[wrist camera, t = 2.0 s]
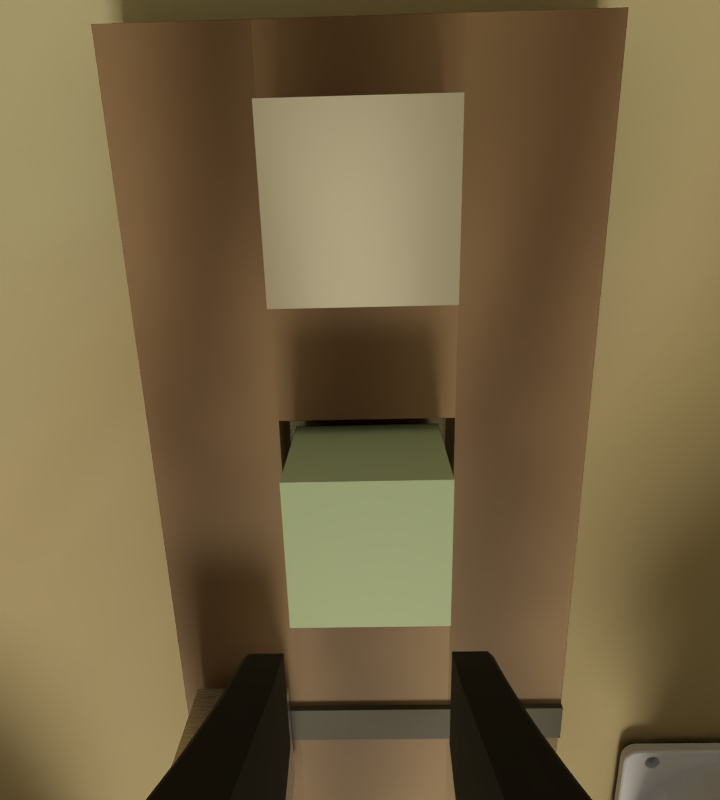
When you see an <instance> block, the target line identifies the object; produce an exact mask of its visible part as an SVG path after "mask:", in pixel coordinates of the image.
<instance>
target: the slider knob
mask: <svg viewBox="0 0 720 800" xmlns="http://www.w3.org/2000/svg"><path fill="white" fill-rule="evenodd" d="M224 690H225V689H198V691H197V693H196V696H195V699H194V702H193V705H192V708H191V711H190V714H189V717H188V720H187V723H186V726H185V729H184V732H183V735H182V737H181V740H180V743H179V746H178V749H177V752H176V755H175V758H174V761H173V764H174V763H175V761H176V760H177V759H178V757H179V756H180V755H181V753H182V752H183V750H184V749H185V748H186V746H187V745H188V743H189V742H190V740H191V739H192V738H193V736H194V735H195V733H196V732H197V730H198V729H199V728H200V726H201V725H202V723H203V722H204V720H205V719H206V717H207V716H208V714H209V713H210V711H211V710H212V708H213V707H214V705H215V704H216V702H217V701H218V699H219V698H220V696H221V694H222V693H223V691H224ZM286 692H287V705H288V718H289V731H290V744H291V747H290V758H289V769H288V780H287V790H286V800H292V796H293V788H294V780H295V770H294V756H293V743H292V730H291V717H290V704H289V690H288V688H286ZM173 764H172V766H173Z"/></svg>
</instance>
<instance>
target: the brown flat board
mask: <svg viewBox="0 0 720 800" xmlns="http://www.w3.org/2000/svg"><path fill="white" fill-rule="evenodd" d="M627 18H628V7H624V8H592V9H560V10H528V11H496V12H464V13H432V14H400V15H368V16H336V17H304V18H272V19H240V20H208V21H176V22H144V23H112V24H91V26H92V34H93V41H94V48H95V55H96V62H97V69H98V76H99V83H100V90H101V97H102V104H103V111H104V119H105V126H106V133H107V140H108V147H109V154H110V161H111V168H112V175H113V182H114V189H115V196H116V204H117V211H118V218H119V225H120V232H121V239H122V246H123V253H124V260H125V267H126V274H127V282H128V289H129V296H130V303H131V310H132V317H133V324H134V331H135V338H136V345H137V352H138V359H139V367H140V374H141V381H142V388H143V395H144V402H145V409H146V416H147V423H148V430H149V437H150V444H151V452H152V459H153V466H154V473H155V480H156V487H157V494H158V501H159V508H160V515H161V522H162V530H163V537H164V544H165V551H166V558H167V565H168V572H169V579H170V586H171V593H172V600H173V607H174V615H175V622H176V629H177V636H178V643H179V650H180V657H181V664H182V671H183V678H184V685H185V692H186V700H187V707H188V714H190V711H191V708H192V705H193V702H194V699H195V696H196V693H197V691H198V689H225V688H226V686H227V685H228V683H229V681H230V680H231V678H232V676H233V675H234V673H235V671H236V670H237V668H238V666H239V664H240V663H241V661H242V659H243V658H244V657H246V656H247V655H248V654H278V653H284V666H285V679H286V688H288V690H289V704H290V717H291V730H292V743H293V756H294V770H295V780H294V788H293V796H292V800H456V799H455V790H454V782H453V773H452V763H451V754H450V745H449V743H450V706H451V669H452V651H488V652H489V653H490V654H491V655H492V656H494V658H495V660H496V662H497V664H498V665H499V667H500V669H501V671H502V672H503V674H504V676H505V677H506V679H507V681H508V682H509V684H510V686H511V687H512V689H513V691H514V692H515V694H516V695H517V697H518V698H519V700H520V702H521V703H522V705H523V706H524V708H525V709H526V711H527V712H528V714H529V715H530V717H531V718H532V720H533V721H534V723H535V724H536V726H537V727H538V728H539V730H540V731H541V733H542V734H543V735H544V737H545V738H546V740H547V741H548V742H549V744H550V745H551V747H552V748H553V749H554V751H555V752H556V748H557V738H560V730H561V720H562V710H563V708H562V705H561V696H562V686H563V676H564V666H565V655H566V645H567V635H568V624H569V614H570V604H571V594H572V583H573V573H574V563H575V552H576V542H577V532H578V522H579V511H580V501H581V491H582V481H583V470H584V460H585V450H586V439H587V429H588V419H589V409H590V398H591V388H592V378H593V367H594V357H595V347H596V337H597V326H598V316H599V306H600V295H601V285H602V275H603V265H604V254H605V244H606V234H607V223H608V213H609V203H610V193H611V182H612V172H613V162H614V151H615V141H616V131H617V121H618V110H619V100H620V90H621V79H622V69H623V59H624V49H625V38H626V28H627ZM457 92H464V130H463V169H462V208H461V247H460V285H459V305H434V306H388V307H343V308H298V309H267V303H266V289H265V275H264V261H263V247H262V233H261V219H260V205H259V192H258V178H257V164H256V150H255V136H254V122H253V108H252V98H283V97H318V96H353V95H387V94H422V93H457ZM408 418H446V441H445V450H446V453H447V456H448V460H449V463H450V466H451V470H452V473H453V476H454V518H453V557H452V596H451V626H416V627H334V628H290V622H289V608H288V594H287V580H286V566H285V552H284V539H283V525H282V511H281V497H280V479H281V476H282V473H283V469H284V466H285V463H286V460H287V456H288V453H289V450H290V446H291V443H290V427H289V421H301V420H355V419H408Z"/></svg>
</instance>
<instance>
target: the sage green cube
mask: <svg viewBox="0 0 720 800" xmlns="http://www.w3.org/2000/svg"><path fill="white" fill-rule="evenodd" d="M280 497H281V511H282V525H283V539H284V552H285V566H286V580H287V594H288V608H289V622H290V628H334V627H416V626H451V596H452V557H453V518H454V476H453V473H452V470H451V466H450V463H449V460H448V456H447V453H446V450H445V446H444V443H443V440H442V436H441V433H440V429H439V426H438V424H404V425H350V426H297V427H296V430H295V433H294V436H293V440H292V443H291V446H290V450H289V453H288V456H287V460H286V463H285V466H284V469H283V473H282V476H281V479H280Z"/></svg>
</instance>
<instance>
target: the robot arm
mask: <svg viewBox="0 0 720 800" xmlns="http://www.w3.org/2000/svg"><path fill="white" fill-rule="evenodd" d="M449 745H450V754H451V763H452V773H453V782H454V790H455V799H456V800H592V799H591V798H590V796H589V795H588V794H587V793H586V791H585V790H584V789H583V788H582V787H581V785H580V784H579V783H578V782H577V780H576V779H575V778H574V776H573V775H572V774H571V772H570V771H569V770H568V768H567V767H566V766H565V764H564V763H563V762H562V760H561V759H560V758H559V756H558V755H557V754H556V752H555V751H554V749H553V748H552V747H551V745H550V744H549V742H548V741H547V740H546V738H545V737H544V735H543V734H542V733H541V731H540V730H539V728H538V727H537V726H536V724H535V723H534V721H533V720H532V718H531V717H530V715H529V714H528V712H527V711H526V709H525V708H524V706H523V705H522V703H521V702H520V700H519V698H518V697H517V695H516V694H515V692H514V691H513V689H512V687H511V686H510V684H509V682H508V681H507V679H506V677H505V676H504V674H503V672H502V671H501V669H500V667H499V665H498V664H497V662H496V660H495V658H494V656H492V655H491V654H490V653H489V652H488V651H452V669H451V706H450V743H449ZM290 747H291V744H290V731H289V718H288V705H287V692H286V679H285V666H284V653H278V654H248V655H247V656H246V657H244V658H243V659H242V661H241V663H240V664H239V666H238V668H237V670H236V671H235V673H234V675H233V676H232V678H231V680H230V681H229V683H228V685H227V686H226V688H225V690H224V691H223V693H222V694H221V696H220V698H219V699H218V701H217V702H216V704H215V705H214V707H213V708H212V710H211V711H210V713H209V714H208V716H207V717H206V719H205V720H204V722H203V723H202V725H201V726H200V728H199V729H198V730H197V732H196V733H195V735H194V736H193V738H192V739H191V740H190V742H189V743H188V745H187V746H186V748H185V749H184V750H183V752H182V753H181V755H180V756H179V757H178V759H177V760H176V761H175V763H174V764H173V766H172V767H171V768H170V769H169V771H168V772H167V773H166V775H165V776H164V777H163V778H162V780H161V781H160V782H159V784H158V785H157V786H156V787H155V789H154V790H153V791H152V793H151V794H150V795H149V796H148V798H147V799H146V800H286V790H287V780H288V769H289V758H290ZM650 757H651V758H650ZM614 800H720V743H655V744H630V745H628V746H626V747H625V748H624V749H623V750H622V752H621V756H620V763H619V770H618V777H617V784H616V792H615V799H614Z"/></svg>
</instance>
